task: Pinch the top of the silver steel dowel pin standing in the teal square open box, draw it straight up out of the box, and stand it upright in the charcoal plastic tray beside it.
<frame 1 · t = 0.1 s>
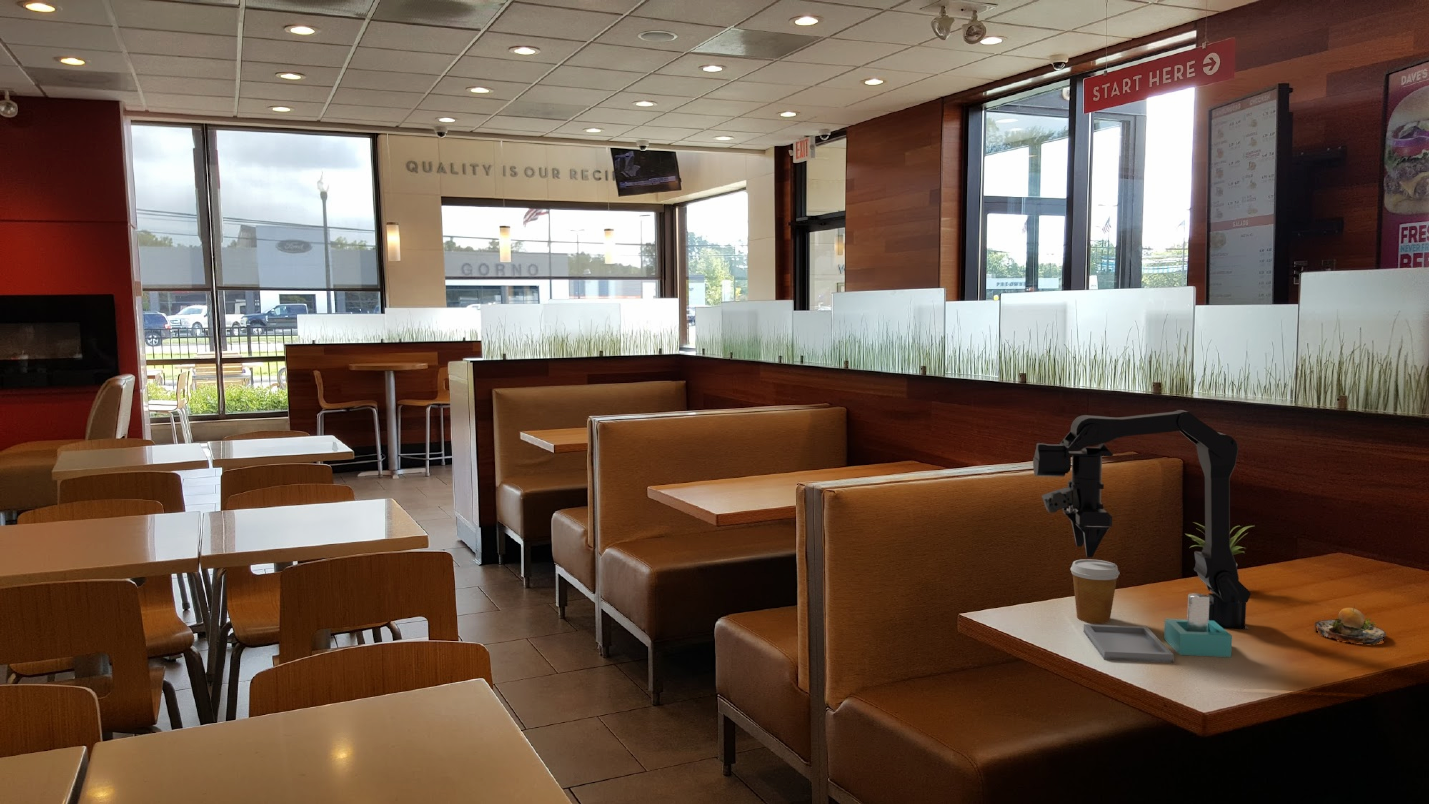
hand: (1084, 551, 201), 15 cm above the table, tool pointing down, fingers open, 9 cm apart
house plant: (1222, 588, 226), on the table
teal square open box: (1196, 650, 184), on the table
burger: (1349, 637, 192), on the table
charcoal tray: (1126, 648, 185), on the table
steel pin: (1196, 647, 184), resting on teal square open box
disposable coffee cup: (1093, 621, 202), on the table
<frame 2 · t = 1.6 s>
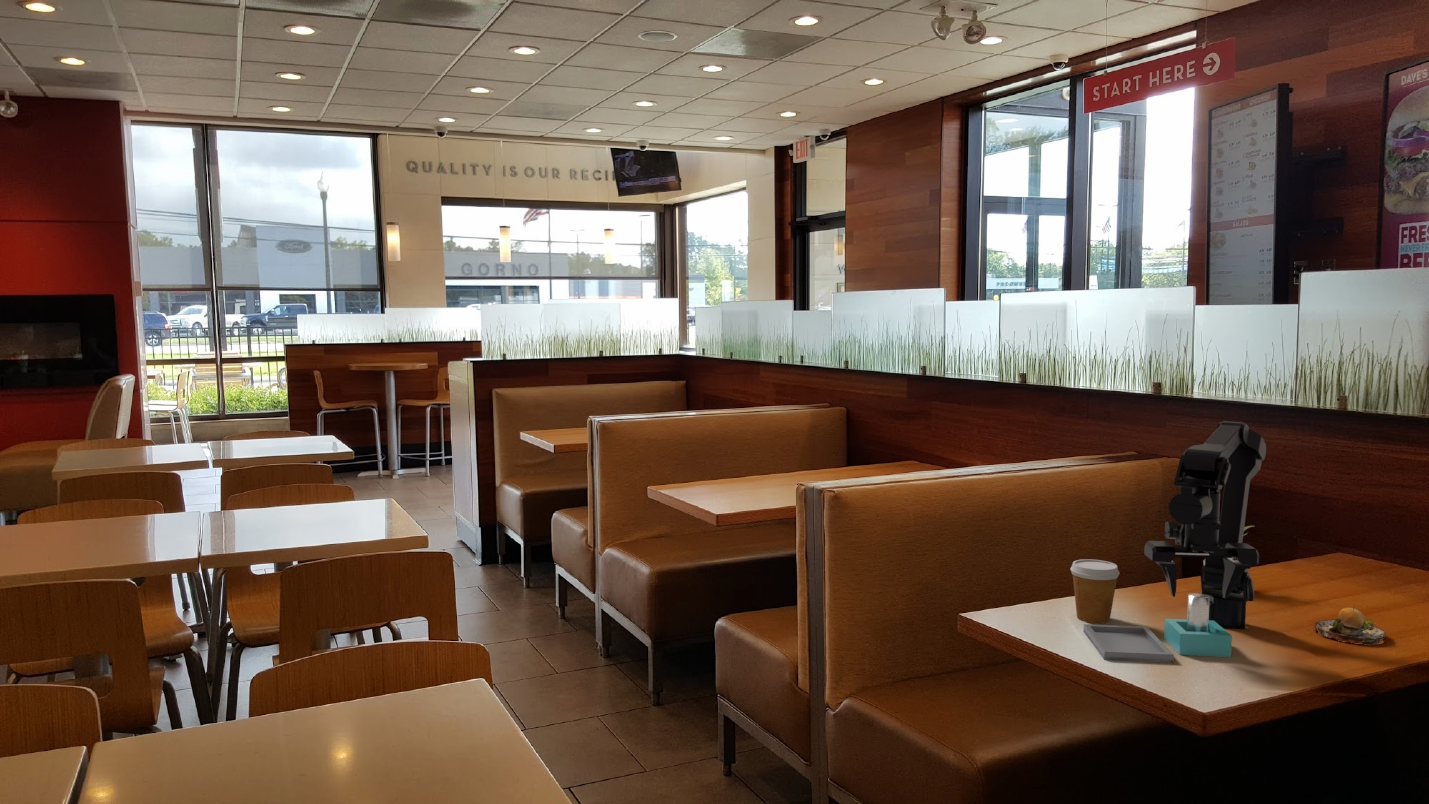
hand: (1198, 597, 183), 10 cm above the table, tool pointing down, fingers open, 9 cm apart
nothing on the table moved.
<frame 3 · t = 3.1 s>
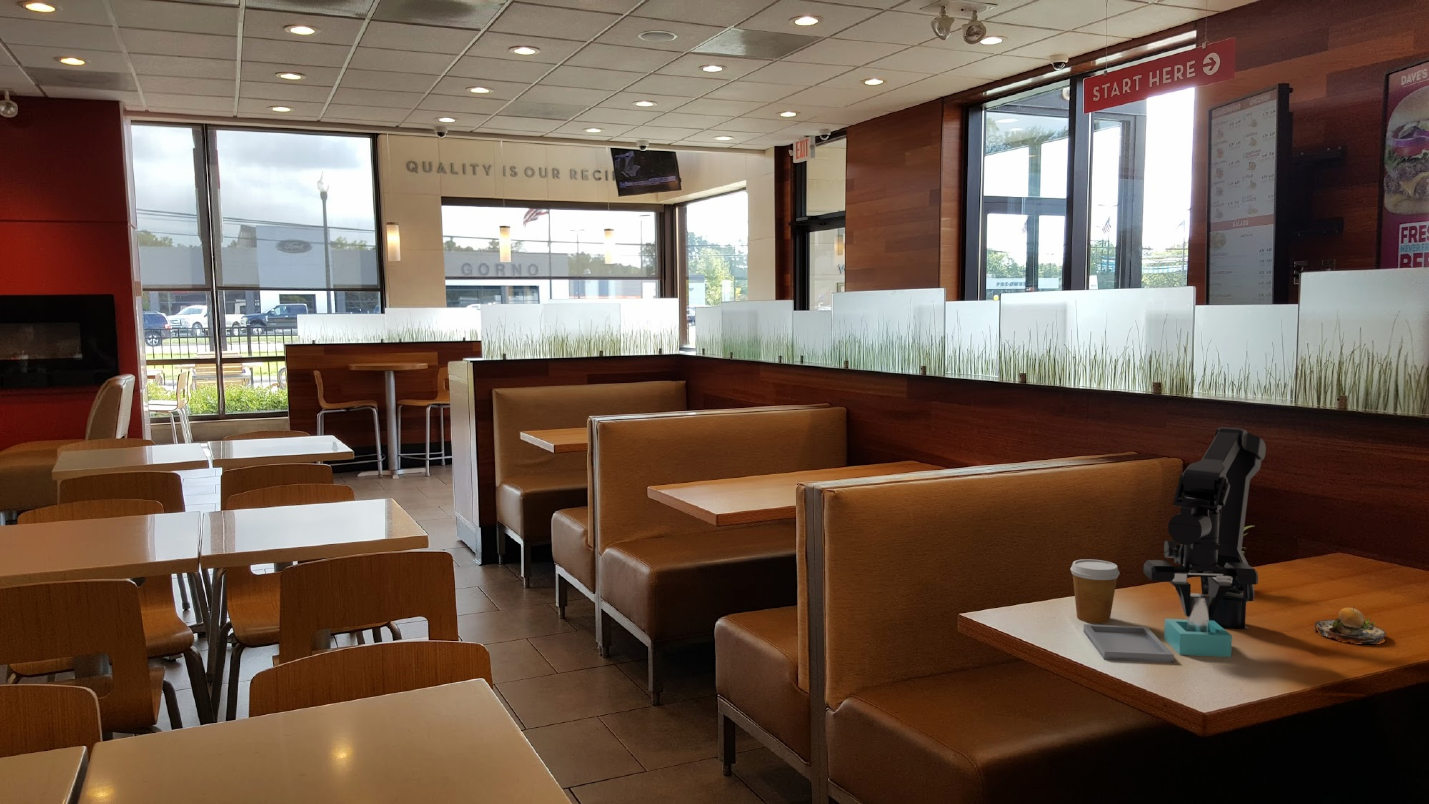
hand: (1197, 616, 183), 7 cm above the table, tool pointing down, fingers closed on steel pin, 4 cm apart
steel pin: (1196, 647, 184), point 1 cm above the table, touching gripper, teal square open box
everything else where it was.
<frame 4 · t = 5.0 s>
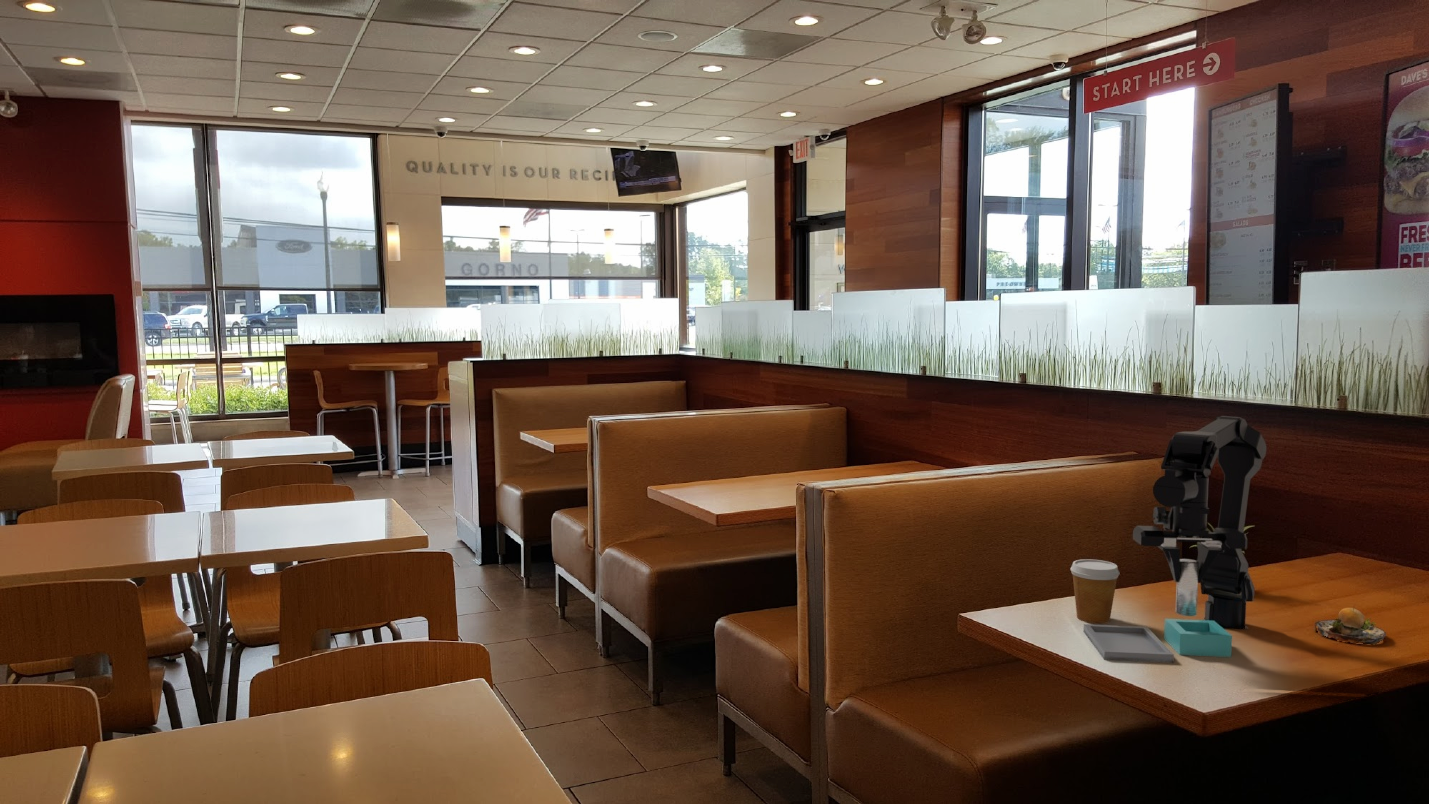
hand: (1187, 582, 183), 13 cm above the table, tool pointing down, fingers closed on steel pin, 4 cm apart
steel pin: (1185, 613, 183), point 7 cm above the table, touching gripper
everything else where it was.
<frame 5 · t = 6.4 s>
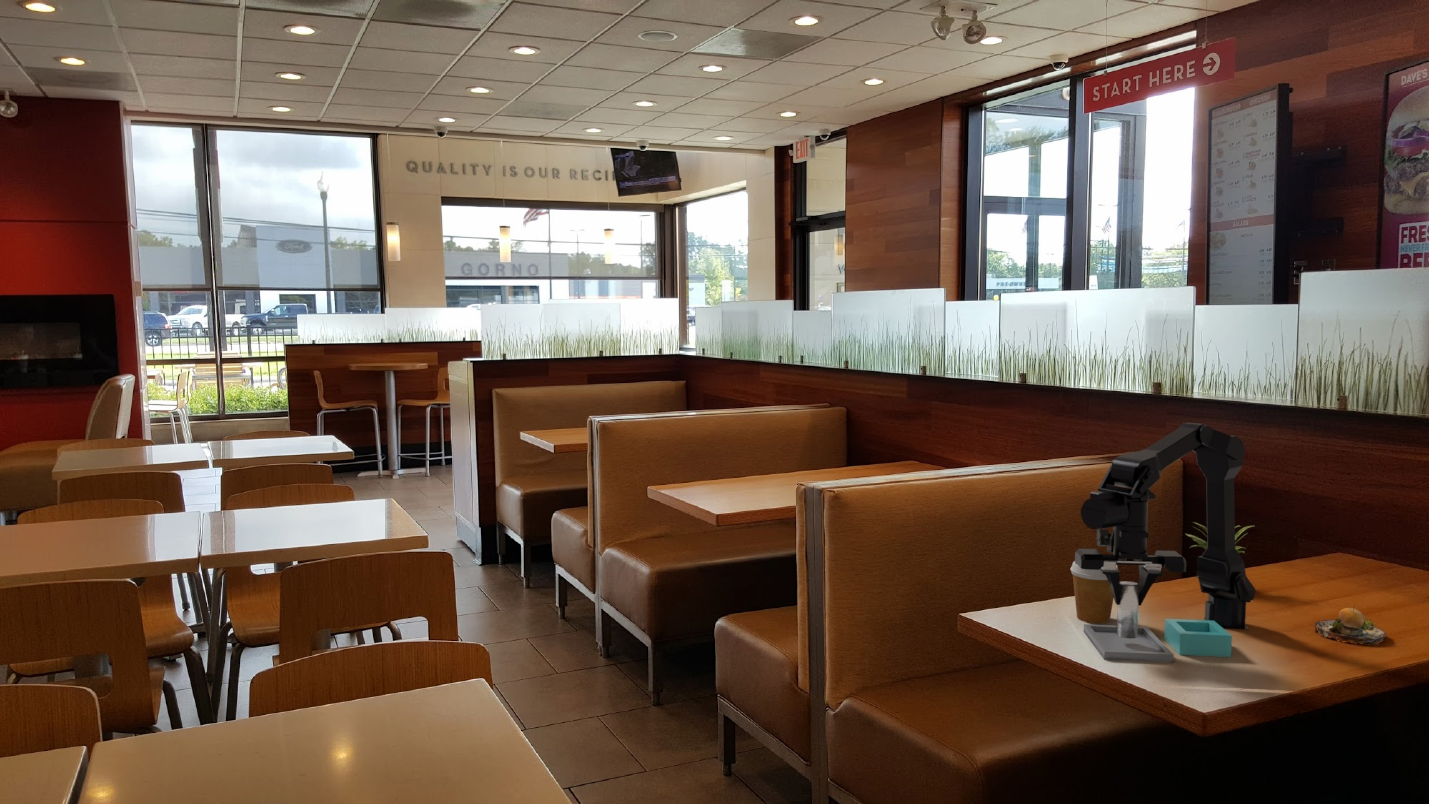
hand: (1128, 604, 184), 9 cm above the table, tool pointing down, fingers closed on steel pin, 4 cm apart
steel pin: (1127, 635, 185), point 3 cm above the table, touching gripper
everything else where it was.
when the fingers open (8 cm above the table, at t = 7.2 s): steel pin stays where it is, resting on charcoal tray.
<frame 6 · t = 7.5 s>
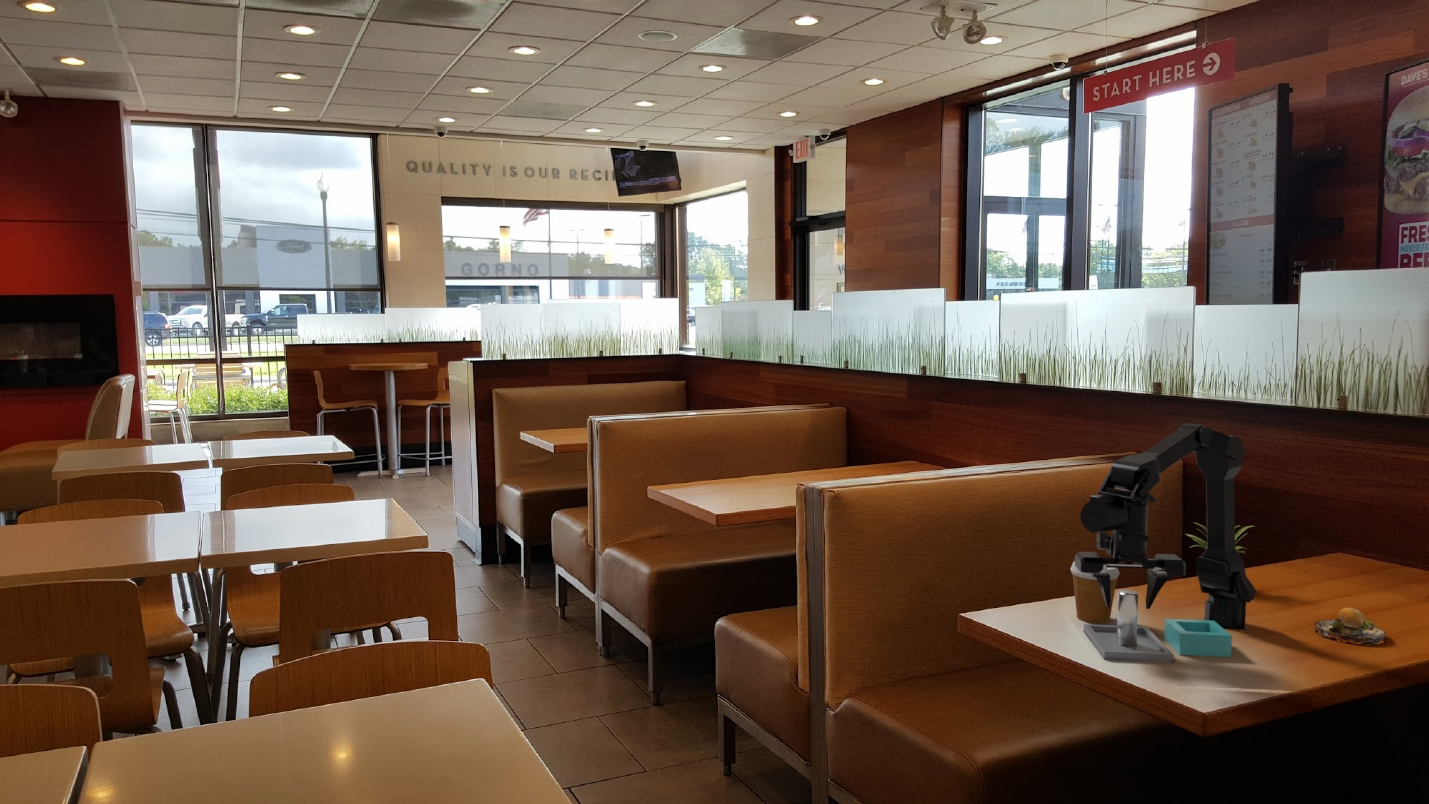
hand: (1127, 607, 184), 8 cm above the table, tool pointing down, fingers open, 7 cm apart
steel pin: (1126, 643, 185), point 1 cm above the table, touching charcoal tray
everything else where it was.
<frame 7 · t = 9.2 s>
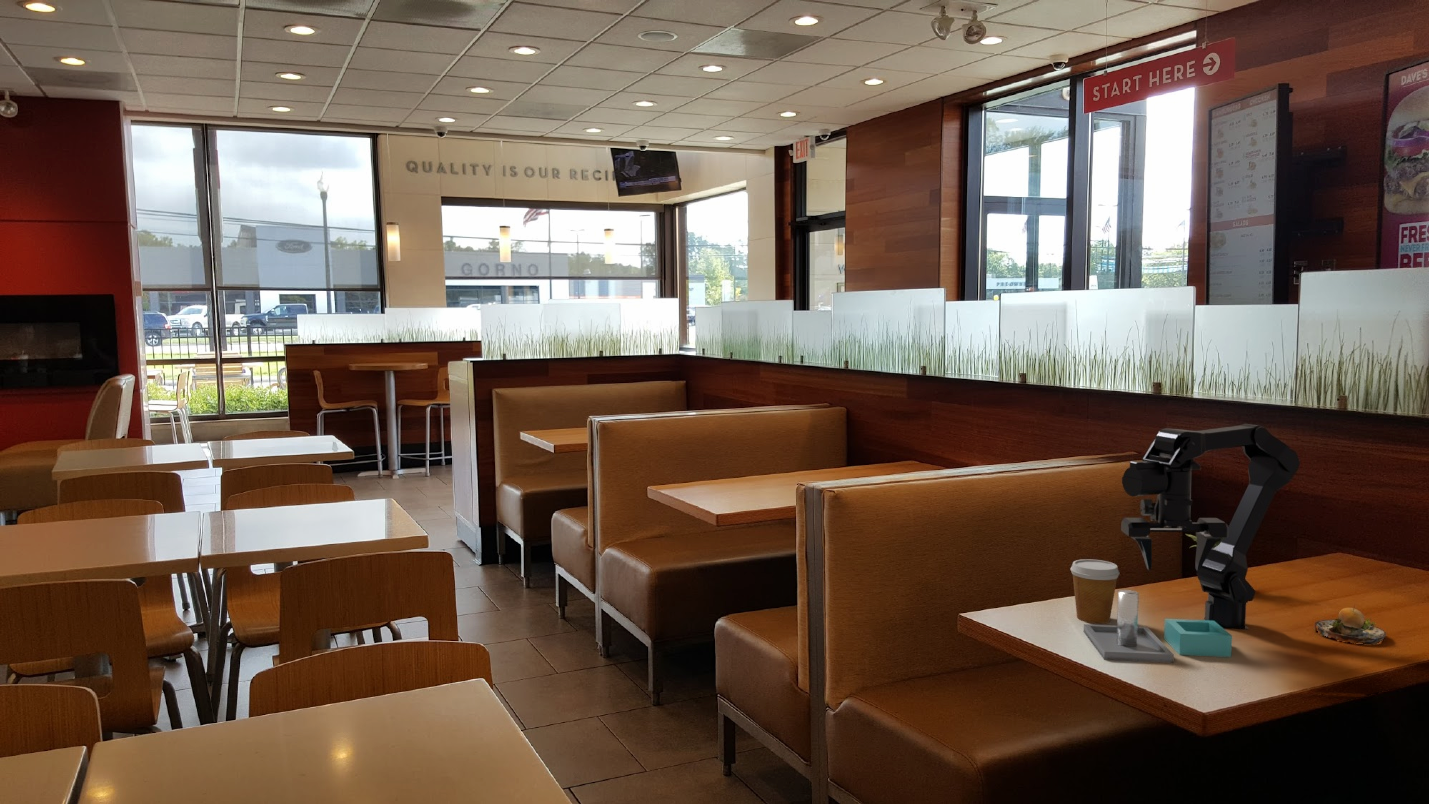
hand: (1173, 569, 193), 13 cm above the table, tool pointing down, fingers open, 9 cm apart
nothing on the table moved.
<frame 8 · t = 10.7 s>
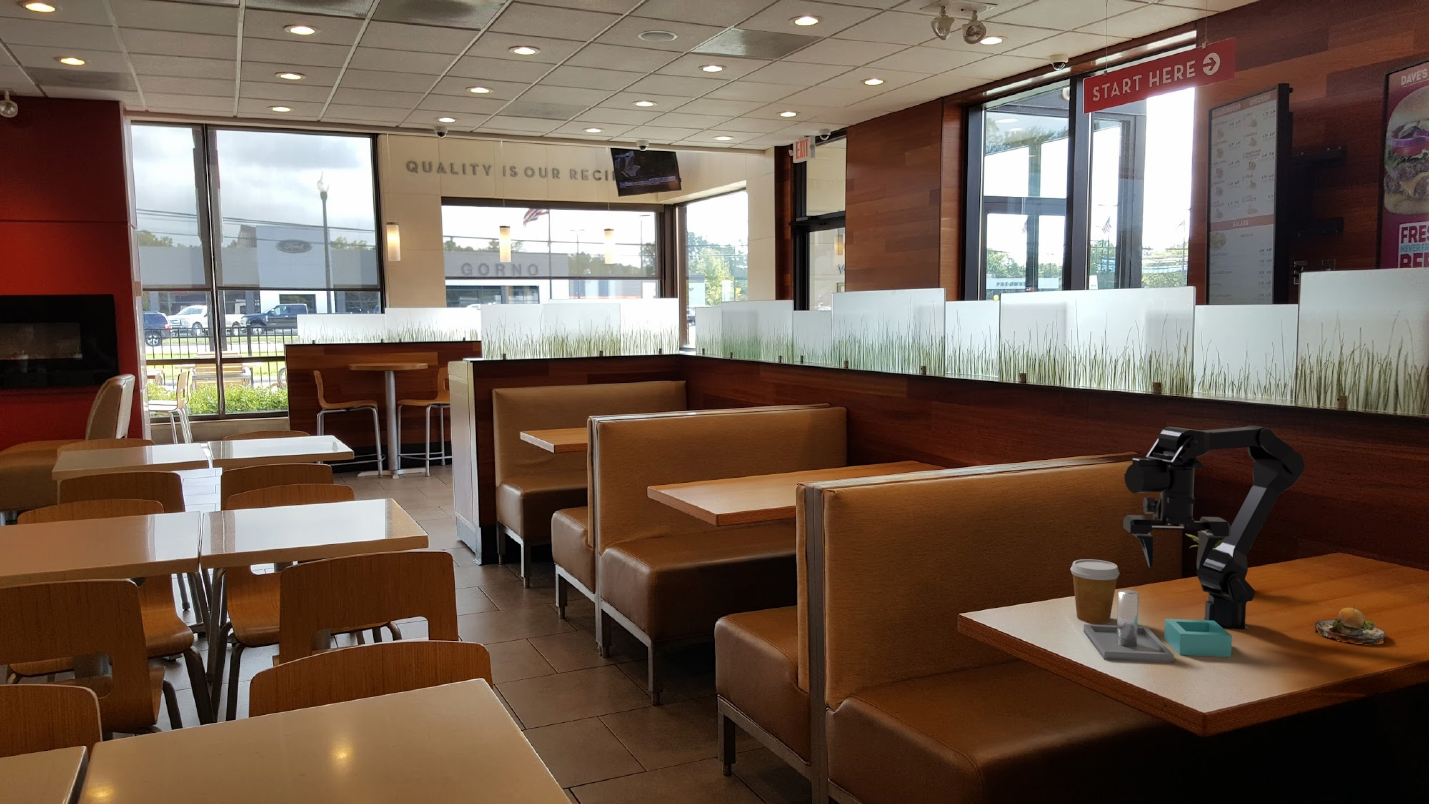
hand: (1174, 567, 194), 13 cm above the table, tool pointing down, fingers open, 9 cm apart
nothing on the table moved.
at the end: steel pin inside the target area on the charcoal tray (0.1 cm from its centre), point 1.0 cm above the charcoal tray's base; steel pin tilted 0°; the gripper is holding nothing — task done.
